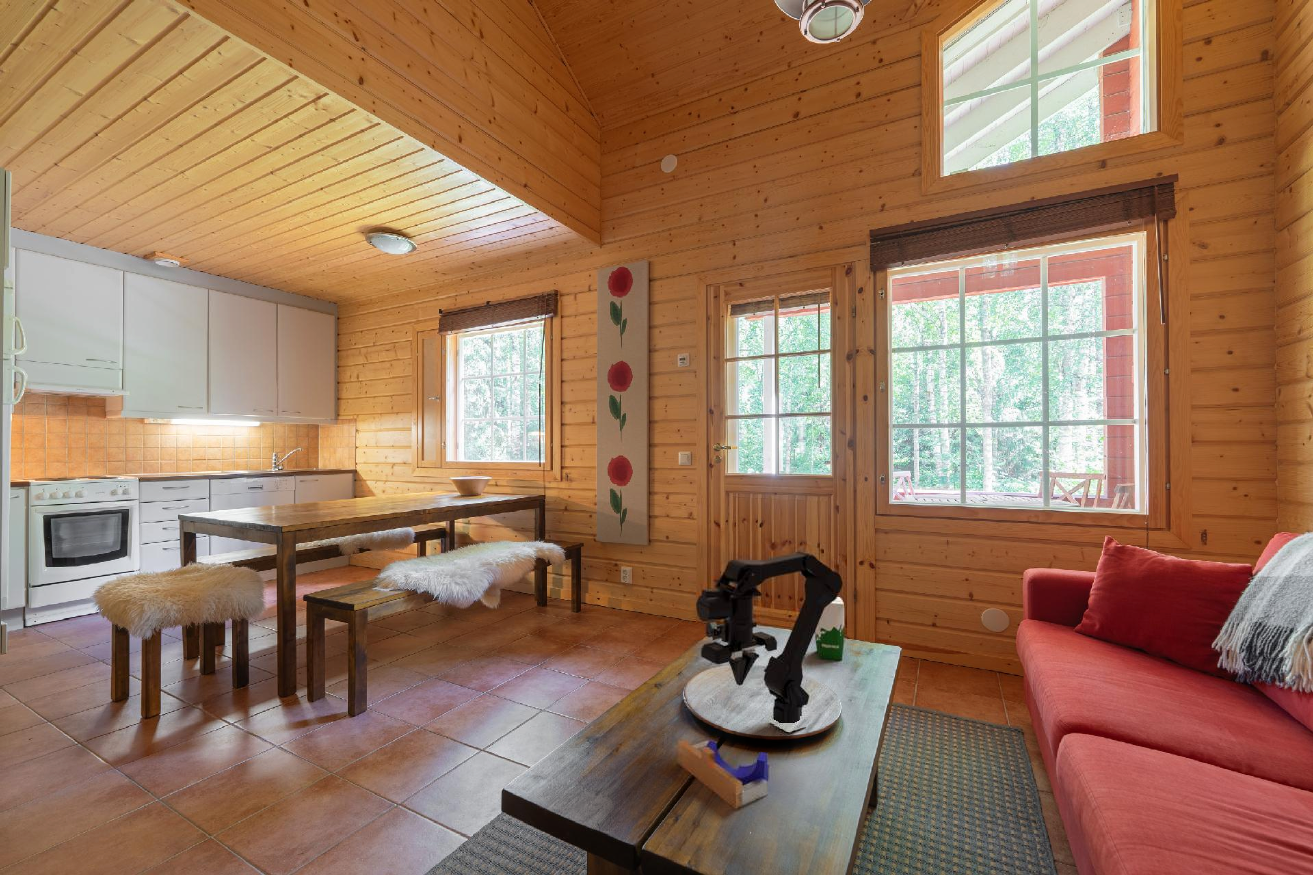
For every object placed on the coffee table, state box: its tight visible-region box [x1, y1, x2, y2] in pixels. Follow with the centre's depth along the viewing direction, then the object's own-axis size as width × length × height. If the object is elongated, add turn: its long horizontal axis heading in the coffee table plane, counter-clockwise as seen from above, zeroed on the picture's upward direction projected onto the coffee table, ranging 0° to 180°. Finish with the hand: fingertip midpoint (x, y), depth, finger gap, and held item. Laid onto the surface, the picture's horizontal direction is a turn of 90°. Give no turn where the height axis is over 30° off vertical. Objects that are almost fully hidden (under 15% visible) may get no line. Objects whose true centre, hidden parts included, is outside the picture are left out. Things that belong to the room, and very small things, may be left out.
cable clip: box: [706, 740, 770, 786], centre depth 114 cm, size 12×4×6 cm, turn 68°
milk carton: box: [814, 596, 845, 661], centre depth 183 cm, size 9×9×20 cm
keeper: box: [677, 739, 768, 810], centre depth 114 cm, size 8×18×6 cm, turn 34°
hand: (739, 684), depth 130 cm, fingers closed
